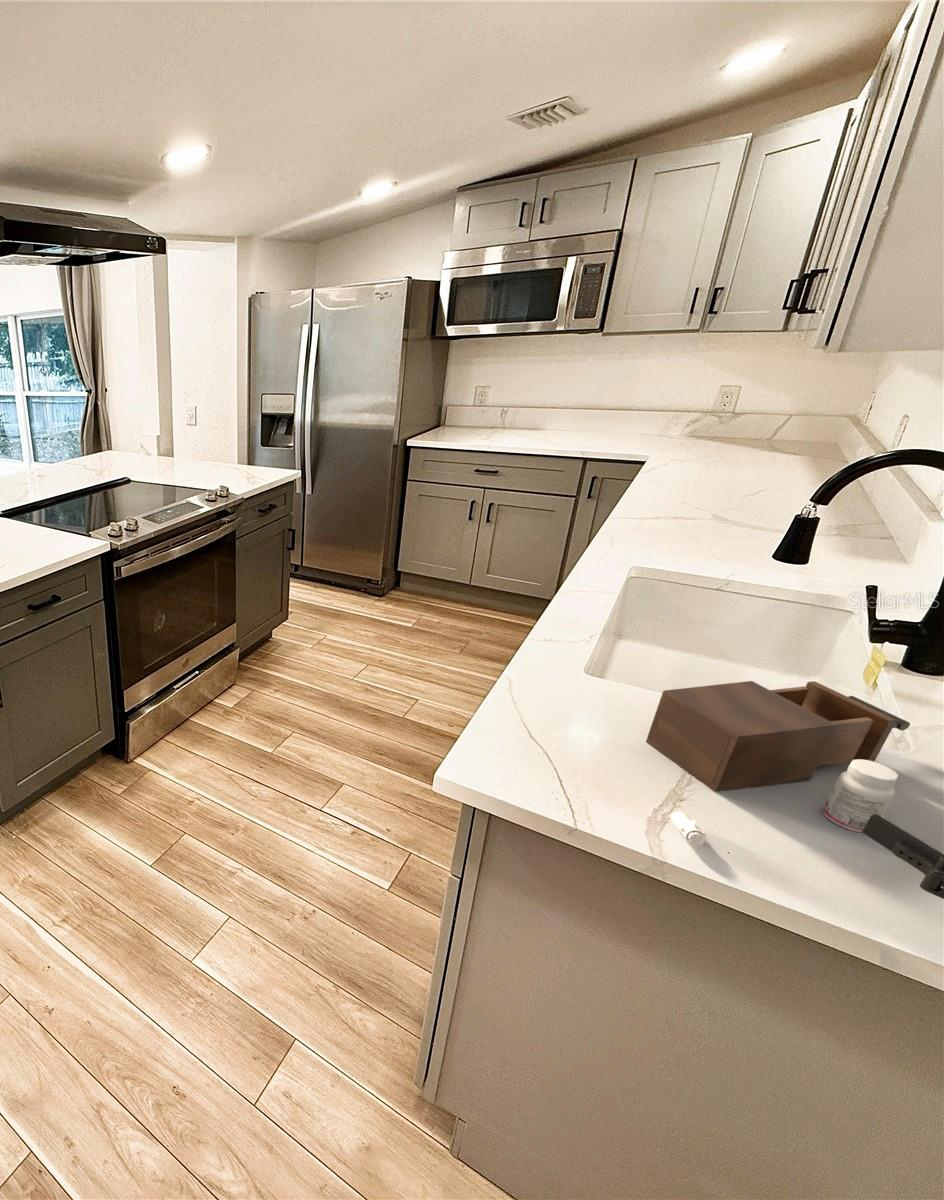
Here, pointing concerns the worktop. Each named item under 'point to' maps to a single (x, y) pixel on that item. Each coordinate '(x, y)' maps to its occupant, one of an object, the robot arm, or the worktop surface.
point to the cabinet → (739, 735)
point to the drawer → (846, 722)
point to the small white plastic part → (688, 828)
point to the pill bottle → (860, 794)
